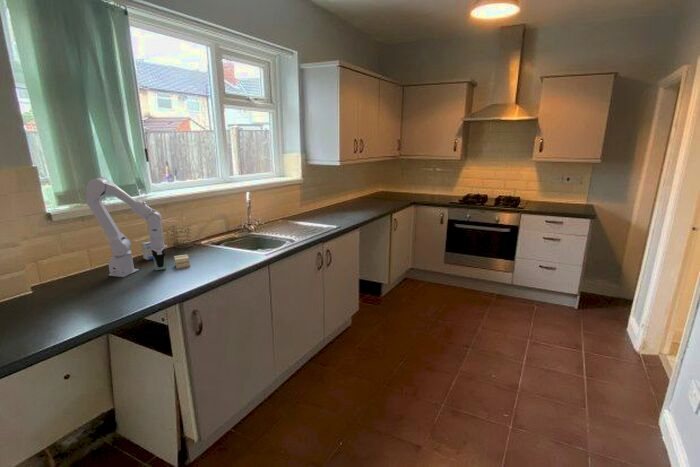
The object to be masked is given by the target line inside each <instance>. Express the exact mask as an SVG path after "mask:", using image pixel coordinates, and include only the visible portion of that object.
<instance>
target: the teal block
mask: <svg viewBox="0 0 700 467" xmlns="http://www.w3.org/2000/svg"><path fill="white" fill-rule="evenodd" d="M153 262H154V269H155V271H159V270H161V271H162V270H166V269H167V265H166V264H167V263H166V262H167V261H166V256H165V257H164V265H163V267H158V266H157V262H156V260H155V258H154V259H153Z"/></svg>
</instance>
